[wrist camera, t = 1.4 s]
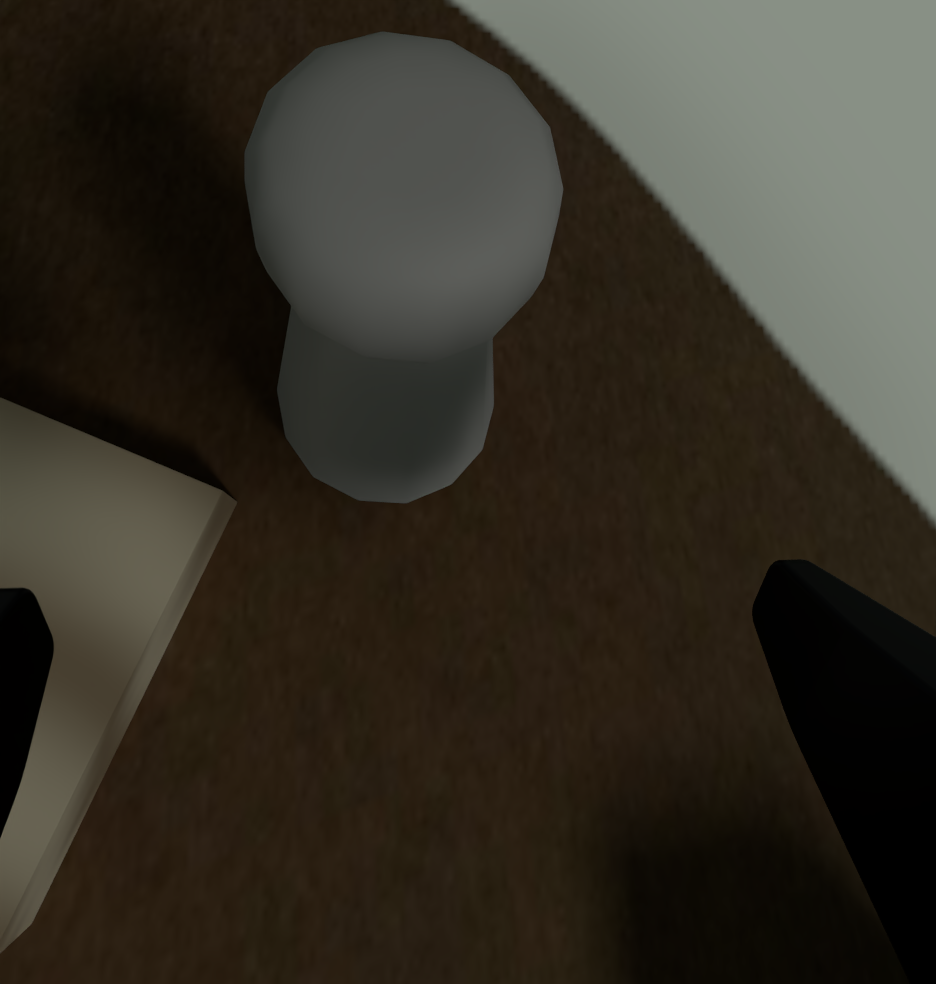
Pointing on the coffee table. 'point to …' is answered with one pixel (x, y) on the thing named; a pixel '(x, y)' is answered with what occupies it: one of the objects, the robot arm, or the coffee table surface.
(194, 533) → the oak block
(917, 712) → the robot arm
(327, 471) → the salt shaker
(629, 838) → the coffee table surface
